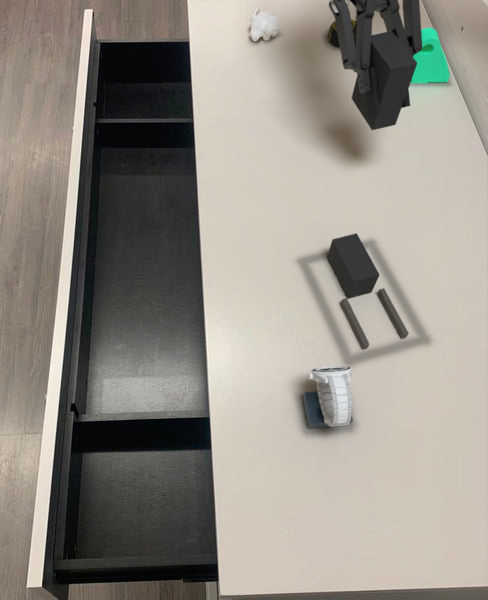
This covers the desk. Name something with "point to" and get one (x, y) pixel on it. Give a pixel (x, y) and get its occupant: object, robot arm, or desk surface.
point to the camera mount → (430, 60)
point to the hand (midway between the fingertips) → (388, 110)
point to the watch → (329, 398)
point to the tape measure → (334, 35)
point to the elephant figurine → (263, 25)
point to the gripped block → (387, 79)
